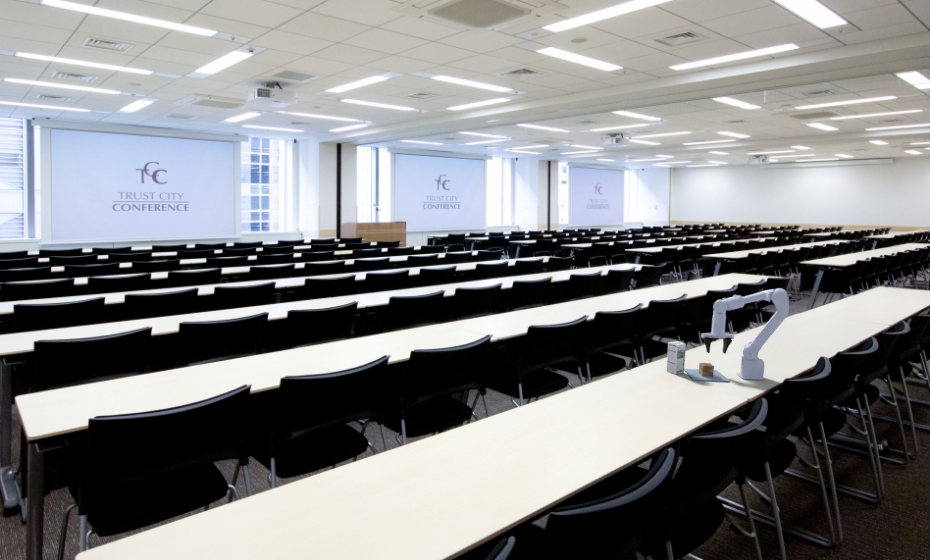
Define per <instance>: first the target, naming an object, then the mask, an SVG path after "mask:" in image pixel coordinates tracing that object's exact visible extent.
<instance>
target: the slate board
mask: <svg viewBox="0 0 930 560" xmlns="http://www.w3.org/2000/svg"><path fill="white" fill-rule="evenodd" d="M684 371H685V372H686V373H687V374H686V373H685V372H684V373H685V374H686V375H688V376H689V378H691V380H692V381H694V382H695V381H696V382H716V383H717V382H719V383H721V382H722V383H730V382H731V381H730V379H728V378H727V377H726V376H725V375H723V374H722V373H721V372H720V371H719V370H717V369H714V373H713V377H708V376H701V375H700V374H699V368H698V369H696V368H684Z"/></svg>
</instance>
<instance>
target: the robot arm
mask: <svg viewBox="0 0 930 560" xmlns="http://www.w3.org/2000/svg"><path fill="white" fill-rule="evenodd" d="M758 301H767V302H771V301H772V303H773V304H774V306H775V310H776V311H775V313H774V314H773V315H772V316H771V318H770V319H769V320H768V321H767V322H766V323H765V325H764V326H763V327H762V329H761V330H760V331H759V332H758V333H757V334H756V336H755V337H754V338H753V339H752V340H751V341H750V342H748V343H746V344H745V345H744V346H743V351H742V355H741V360H740V361H741V362H740V371H739V372H736V375H738V376H739V377H740V378H741V379H743V380H762V381H763V380H765V379H764V376H765V375H764V374H765V362H764V360H763V358H762V359H761V358H759V352H760V351H761V350H762V348H763V346H764V344H766V342H767V341H768V340H769V339H770V338H771V336H772V335H773V333H774V332H775V331H777V329H778V328H779V326H780V325H781V324H782V323H783V322H784V321H785V320H786V318H787V317H788V315H789V314H790V312H789V311H790V297H789V295H788V292H787V290H786V289H784V288H782V287H781V288H780V287H778V288H775V289H774V288H773V289H771V288H770V289H766V290H763V291H759V292H756V293H753V294H752V293H751V294H749V295H745V296H742V295H740V294H739V295H737V294H733V296H731V297H727V298H726V297H723V298H722V299H717V300H716V301H715V302H714V303H713V306H712V307H713V308H712V309H713V312H712V313H713V315H712V320H711V331H710V332H705V333H704V332H703V333H701V337H700V338H702V340H703V342H704V345H705V351H706V353H707V354H710V351H711V345H712V344H711V343H712V339H722V342H723V346H722V353H723V354H725V355H726V353H727V351H728V349H729V346H730V345H731V344H732V342H733V340H734V337H735V335H734V334H732V333H726V320H727V319H726V318H727V316H726V315H727V314H726V312H727V311H732V310H737V309H740V308H743V307H744V306H745V304H748V303H749V304H750V303H754V302H758Z"/></svg>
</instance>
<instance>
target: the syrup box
mask: <svg viewBox="0 0 930 560" xmlns="http://www.w3.org/2000/svg"><path fill="white" fill-rule="evenodd" d="M686 346H687V345H686V343H685V342H682V341H679V340H677V341H670V342H669V341H668V343H667V355H666V356H667V357H666V372H667V373H670V372H671V373H670V374H673V373H674V374H673V375H679V374H684V373H685V372H684V369H685V361H686V349H687V347H686Z"/></svg>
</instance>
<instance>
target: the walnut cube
mask: <svg viewBox="0 0 930 560" xmlns="http://www.w3.org/2000/svg"><path fill="white" fill-rule="evenodd" d="M698 364H699V365H698V369H699V374H700V375H701V376H708V377H713V373H714V370H715V366H714V365H713V364H712V363H711V362H699V363H698Z"/></svg>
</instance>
